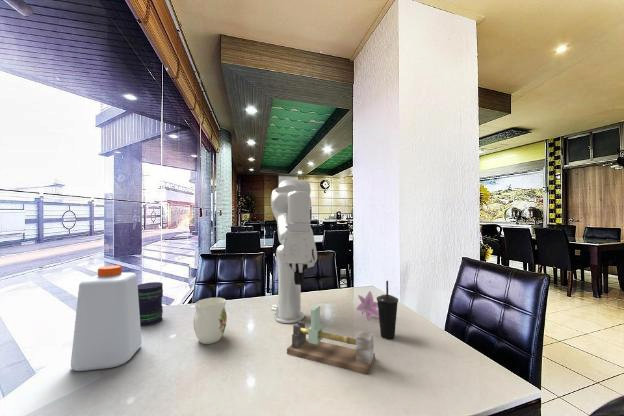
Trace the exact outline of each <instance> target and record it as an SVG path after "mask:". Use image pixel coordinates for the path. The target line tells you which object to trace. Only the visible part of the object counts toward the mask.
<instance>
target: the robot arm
mask: <svg viewBox="0 0 624 416" xmlns="http://www.w3.org/2000/svg"><path fill="white" fill-rule="evenodd" d="M311 190H312V189H311V184H310V183H309V181H308V180H306V179H283V180H282V181H281V182H280V183H279V184H278V187H276V188H274V189H273V190H272V192H271V196H270V207H271V211H272V213H273V217H274V219H275V220H276V224H277V225H276V226H277V235H278V242H279V243H280V245H279V246H278V247H277V248H276V251H275V254H276V255H275V256H276V262H277V279H278V287H277V288H278V291H277V292H278V294H277V295H278V297H277V299H278V300H277V303H278V304H272V305H271V311H272V312H275V314H274V320H275V321H277V322H278V323H283V324H294V323H298V322H299V321H303V320H304V318H305V314H304V312H303V311H301V308H302V306H301V302H302V299H301V298H302V297H301V293H302V292H301V291H302V290H301V285H302V284H304V282H305V272H306V271H307V270H308V269H309V268H312V267H314V266H315V263H316V262H317V260H318V252H317V246H316V240H315V237H314V232H313V229H312V227H311V207H312V199H311Z"/></svg>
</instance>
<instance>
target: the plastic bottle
mask: <svg viewBox="0 0 624 416" xmlns="http://www.w3.org/2000/svg"><path fill="white" fill-rule="evenodd" d="M138 285H139V284H138V276H137V274H136V273H135V272H123V266H122V265H106V266H101V267H98V269H97V275H94V276H91V277H88V278H86V279H84V280H82V281H81V282H80V283H79V284H78V293H77V302H76V311H75V320H74V330H73V339H72V351H71V356H70V357H71V359H70V368H71V369H72V370H73V371H76V372H84V371H94V370H95V371H96V370H102V369H103V370H104V369H111V368H116V367H119V366H122V365H123V364H126V363H127V362H128V361H130V359H132V357H133V356H134V355H135V354H136V352H138V351H139V349H140V347H141V346H142V330H141V329H142V328H141V326H140V314H139V299H138Z"/></svg>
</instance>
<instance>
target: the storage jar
mask: <svg viewBox="0 0 624 416" xmlns="http://www.w3.org/2000/svg"><path fill="white" fill-rule="evenodd" d="M137 285H138V299H139V314H140V327H148V326H152V325H156V324H159V323H160V322H162V321H163V312H164V310H163V296H164V294H163V292H164V290H163V288H164V287H163V282H160V281H159V282H158V281H154V282H152V281H151V282H145V283H141V284H137Z"/></svg>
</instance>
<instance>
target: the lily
mask: <svg viewBox="0 0 624 416" xmlns="http://www.w3.org/2000/svg"><path fill="white" fill-rule="evenodd" d="M357 297H358V298H359V301H360V304H358V306H357V307H356V311H359V312H361V314H362V315H363V313H365V317H366V320H367V322H369V321H370V319H371V318H372V316H373V317H375V318H378V319H379V312H378V302H376V301H374V296H373V294H372V291H371V290H369V291H368V293H367V295H366V296H365V297H364V296H362V295H360V294H358V295H357Z"/></svg>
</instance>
